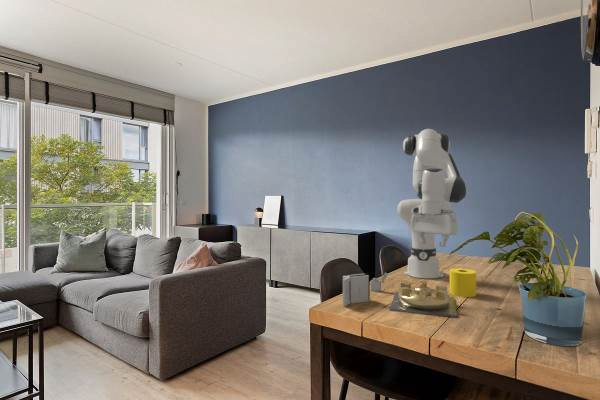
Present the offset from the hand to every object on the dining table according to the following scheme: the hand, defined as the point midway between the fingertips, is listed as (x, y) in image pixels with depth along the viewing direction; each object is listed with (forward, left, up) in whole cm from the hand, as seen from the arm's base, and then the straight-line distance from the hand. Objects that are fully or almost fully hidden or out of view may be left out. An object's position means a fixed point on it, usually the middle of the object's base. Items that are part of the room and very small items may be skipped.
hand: (433, 245), depth 135 cm
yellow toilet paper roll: (-15, +12, -22) cm, 29 cm away
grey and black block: (+13, -28, -22) cm, 38 cm away
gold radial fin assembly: (+6, -3, -20) cm, 22 cm away
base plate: (+6, -3, -22) cm, 23 cm away
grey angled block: (-7, -21, -22) cm, 31 cm away
